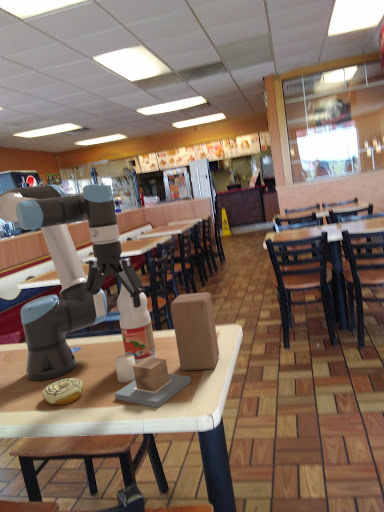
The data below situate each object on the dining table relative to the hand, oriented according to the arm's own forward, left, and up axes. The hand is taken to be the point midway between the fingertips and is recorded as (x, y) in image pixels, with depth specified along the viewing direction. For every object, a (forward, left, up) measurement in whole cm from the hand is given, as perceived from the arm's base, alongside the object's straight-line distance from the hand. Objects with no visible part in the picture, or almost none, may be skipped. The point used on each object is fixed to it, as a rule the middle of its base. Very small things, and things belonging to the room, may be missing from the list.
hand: (118, 317), depth 116 cm
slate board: (+12, -4, -18) cm, 22 cm away
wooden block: (+15, +14, -18) cm, 28 cm away
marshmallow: (-1, 0, -18) cm, 18 cm away
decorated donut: (-10, -15, -18) cm, 26 cm away
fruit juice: (-5, +11, -18) cm, 22 cm away
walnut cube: (+12, -4, -16) cm, 21 cm away
